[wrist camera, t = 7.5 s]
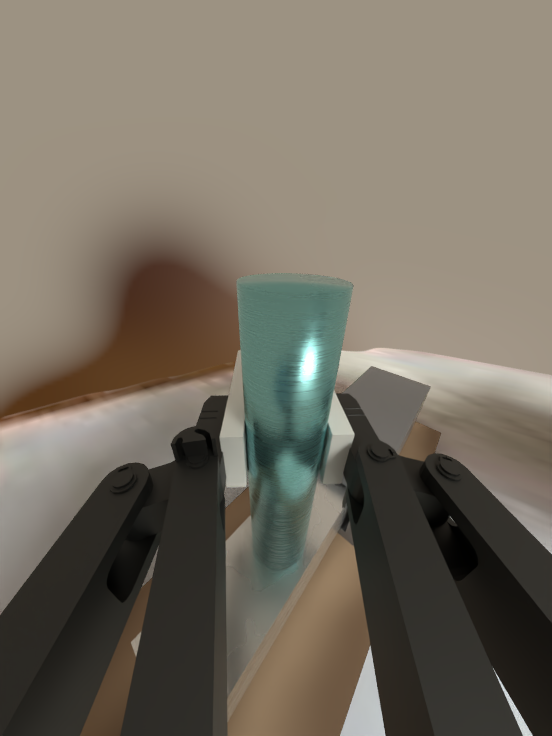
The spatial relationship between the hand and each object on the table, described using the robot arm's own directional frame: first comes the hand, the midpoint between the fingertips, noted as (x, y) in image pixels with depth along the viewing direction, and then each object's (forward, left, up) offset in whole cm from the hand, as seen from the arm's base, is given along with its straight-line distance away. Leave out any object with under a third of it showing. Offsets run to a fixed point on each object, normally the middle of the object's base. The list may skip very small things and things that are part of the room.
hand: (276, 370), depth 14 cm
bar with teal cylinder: (-4, -1, -12) cm, 12 cm away
